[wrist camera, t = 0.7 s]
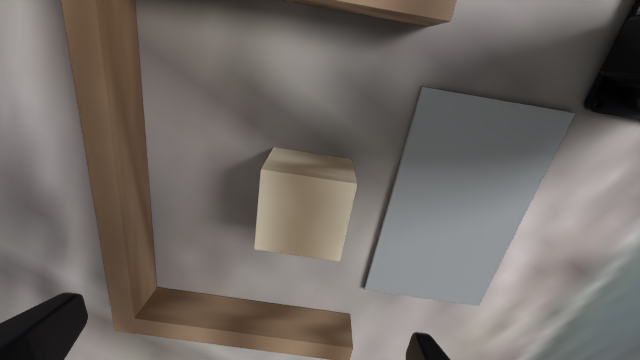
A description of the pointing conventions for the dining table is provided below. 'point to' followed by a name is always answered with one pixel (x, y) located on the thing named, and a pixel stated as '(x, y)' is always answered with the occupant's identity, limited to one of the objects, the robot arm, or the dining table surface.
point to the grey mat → (461, 193)
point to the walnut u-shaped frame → (134, 194)
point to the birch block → (304, 204)
